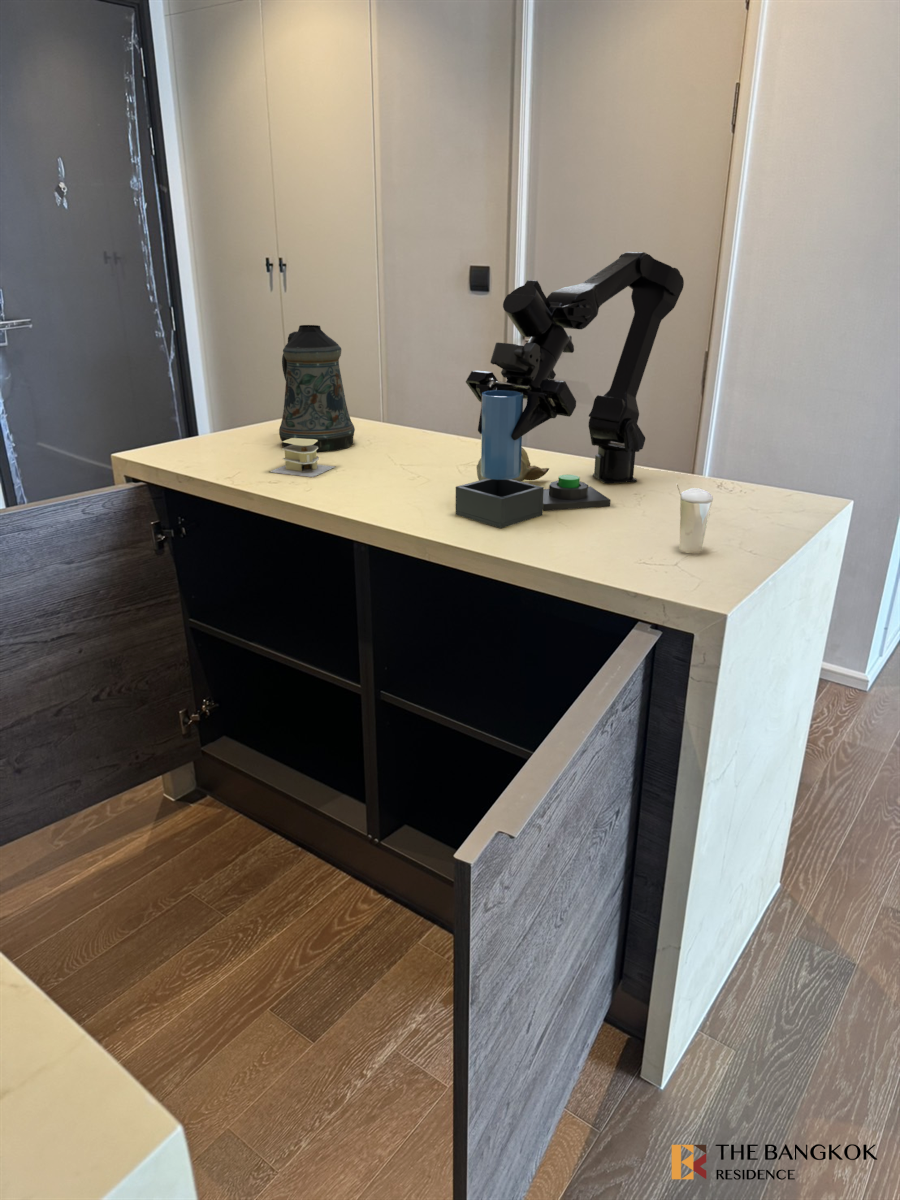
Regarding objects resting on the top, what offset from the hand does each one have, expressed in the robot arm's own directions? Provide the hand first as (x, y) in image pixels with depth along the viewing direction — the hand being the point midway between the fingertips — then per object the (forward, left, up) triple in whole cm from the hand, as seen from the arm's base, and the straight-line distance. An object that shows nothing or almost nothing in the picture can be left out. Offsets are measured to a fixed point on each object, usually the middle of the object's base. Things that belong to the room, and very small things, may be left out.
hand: (496, 435), depth 136 cm
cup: (-1, -1, -7) cm, 7 cm away
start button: (-15, -6, -11) cm, 19 cm away
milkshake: (-23, +22, -14) cm, 35 cm away
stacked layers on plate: (+28, -39, -14) cm, 50 cm away
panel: (-15, -6, -13) cm, 21 cm away
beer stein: (+24, -62, -14) cm, 68 cm away
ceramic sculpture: (-8, -19, -14) cm, 25 cm away
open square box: (-1, -1, -13) cm, 13 cm away
